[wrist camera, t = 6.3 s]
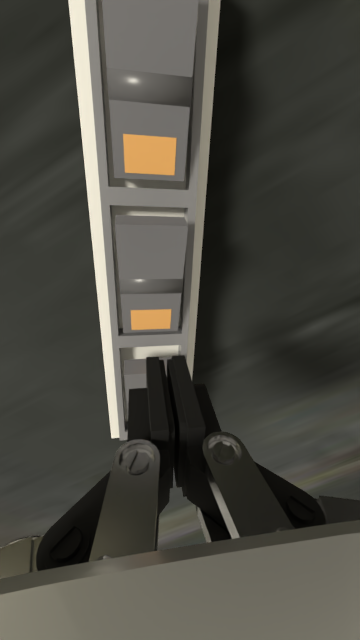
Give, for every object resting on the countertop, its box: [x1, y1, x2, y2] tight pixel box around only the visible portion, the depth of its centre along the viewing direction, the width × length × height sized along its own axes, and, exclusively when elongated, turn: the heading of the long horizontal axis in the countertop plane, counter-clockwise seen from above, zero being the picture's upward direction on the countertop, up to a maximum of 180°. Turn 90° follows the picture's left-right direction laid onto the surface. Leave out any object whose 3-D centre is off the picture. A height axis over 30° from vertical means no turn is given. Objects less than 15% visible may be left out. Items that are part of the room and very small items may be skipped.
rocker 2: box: [115, 215, 188, 333], centre depth 18 cm, size 4×8×2 cm, turn 178°
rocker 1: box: [102, 0, 198, 181], centre depth 14 cm, size 4×8×2 cm, turn 178°
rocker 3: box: [124, 357, 172, 414], centre depth 22 cm, size 4×8×2 cm, turn 178°
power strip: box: [69, 0, 220, 440], centre depth 19 cm, size 8×38×4 cm, turn 178°
